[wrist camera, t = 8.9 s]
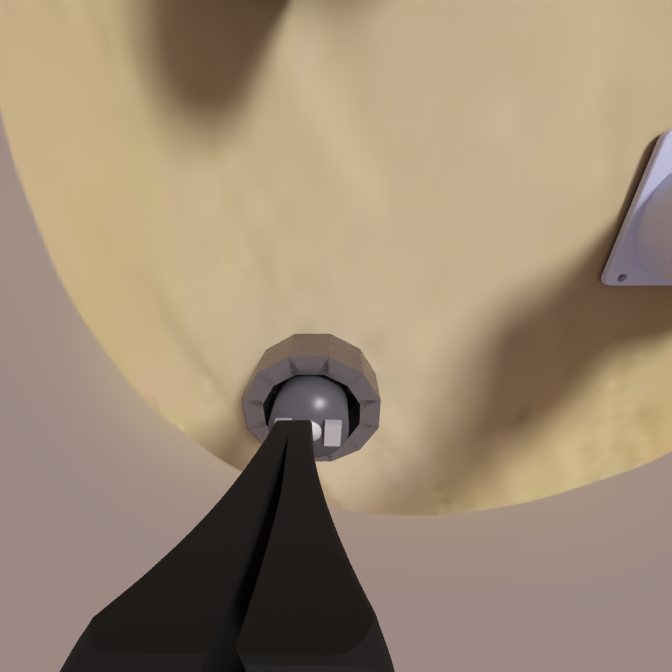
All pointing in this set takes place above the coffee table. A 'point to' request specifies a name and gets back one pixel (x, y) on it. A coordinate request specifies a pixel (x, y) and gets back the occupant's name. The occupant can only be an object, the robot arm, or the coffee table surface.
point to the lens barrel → (316, 359)
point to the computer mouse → (315, 409)
